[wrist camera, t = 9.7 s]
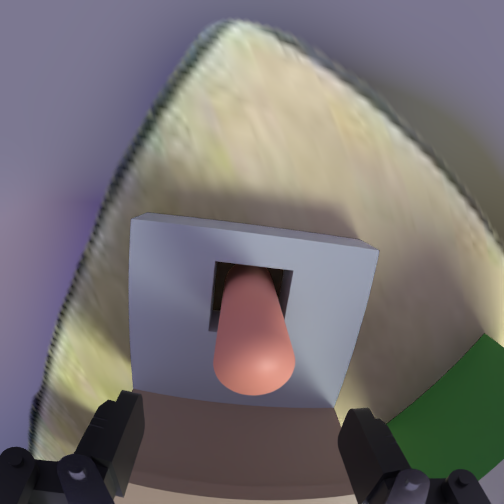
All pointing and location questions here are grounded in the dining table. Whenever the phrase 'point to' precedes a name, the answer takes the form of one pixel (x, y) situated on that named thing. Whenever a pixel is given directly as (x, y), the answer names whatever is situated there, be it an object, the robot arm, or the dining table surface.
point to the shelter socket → (219, 396)
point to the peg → (252, 334)
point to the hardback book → (460, 421)
